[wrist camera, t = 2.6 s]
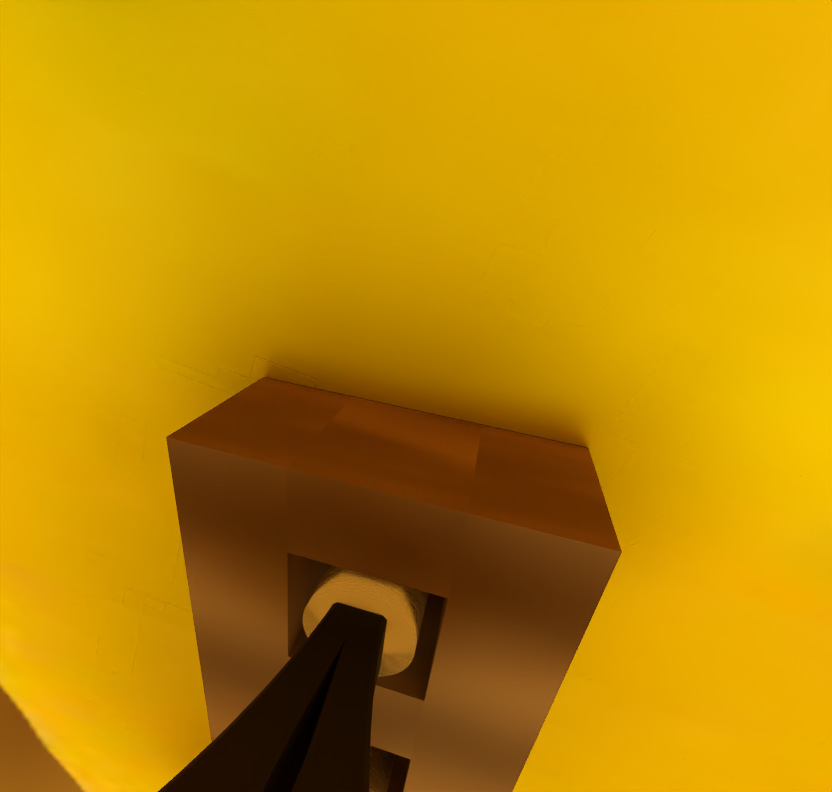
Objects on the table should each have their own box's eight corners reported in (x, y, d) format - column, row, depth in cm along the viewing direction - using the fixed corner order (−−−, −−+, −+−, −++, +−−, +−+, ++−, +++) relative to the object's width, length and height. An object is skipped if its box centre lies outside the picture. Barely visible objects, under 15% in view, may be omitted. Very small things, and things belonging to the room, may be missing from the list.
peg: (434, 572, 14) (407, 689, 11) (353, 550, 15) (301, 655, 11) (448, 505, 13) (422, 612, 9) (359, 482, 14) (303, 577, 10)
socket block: (478, 752, 18) (469, 884, 15) (273, 682, 20) (218, 786, 16) (588, 448, 11) (621, 551, 8) (263, 377, 13) (166, 437, 9)
